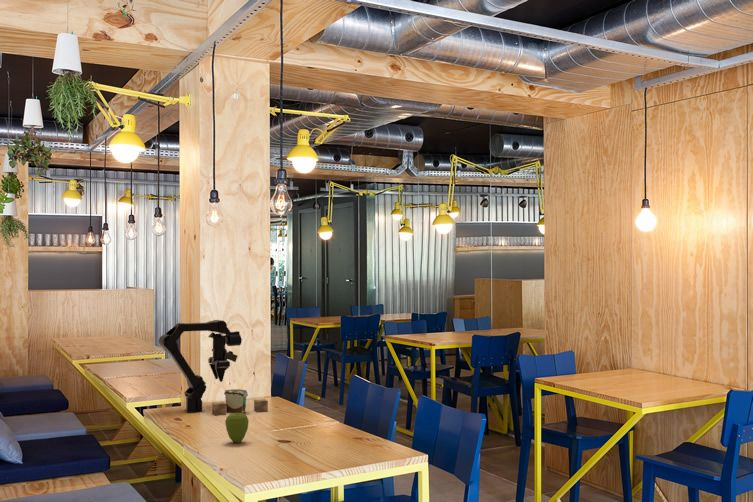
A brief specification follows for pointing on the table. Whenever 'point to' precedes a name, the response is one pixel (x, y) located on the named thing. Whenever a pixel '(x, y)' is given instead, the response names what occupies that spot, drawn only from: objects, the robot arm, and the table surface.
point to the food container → (235, 400)
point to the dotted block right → (261, 405)
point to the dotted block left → (219, 408)
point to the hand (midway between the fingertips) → (218, 380)
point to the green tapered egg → (237, 426)
